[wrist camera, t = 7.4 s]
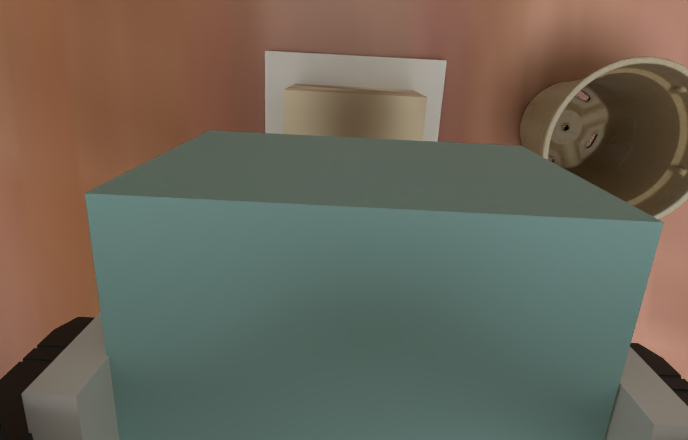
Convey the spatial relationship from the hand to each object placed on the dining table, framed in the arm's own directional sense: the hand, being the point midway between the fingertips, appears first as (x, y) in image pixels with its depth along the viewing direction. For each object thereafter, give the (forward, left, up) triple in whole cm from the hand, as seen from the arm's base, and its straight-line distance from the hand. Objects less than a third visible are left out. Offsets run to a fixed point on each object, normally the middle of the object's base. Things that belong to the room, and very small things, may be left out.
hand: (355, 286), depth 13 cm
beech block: (0, 0, -22) cm, 22 cm away
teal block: (0, 0, 0) cm, 0 cm away
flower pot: (+15, +2, -23) cm, 27 cm away
